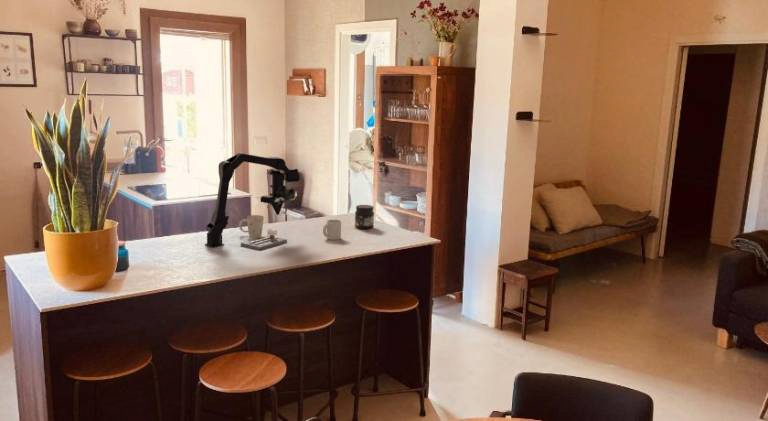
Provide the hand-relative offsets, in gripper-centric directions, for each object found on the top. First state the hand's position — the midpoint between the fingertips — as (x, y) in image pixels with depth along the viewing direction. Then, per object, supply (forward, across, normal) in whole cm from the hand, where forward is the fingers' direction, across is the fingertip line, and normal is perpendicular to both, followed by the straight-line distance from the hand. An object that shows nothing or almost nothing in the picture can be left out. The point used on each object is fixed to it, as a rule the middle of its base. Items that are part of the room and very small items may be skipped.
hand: (277, 214), depth 298 cm
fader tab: (+11, -5, -1) cm, 12 cm away
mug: (+13, -4, +14) cm, 19 cm away
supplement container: (+13, +50, -18) cm, 55 cm away
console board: (+12, -11, -1) cm, 17 cm away
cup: (+13, +19, -19) cm, 30 cm away
